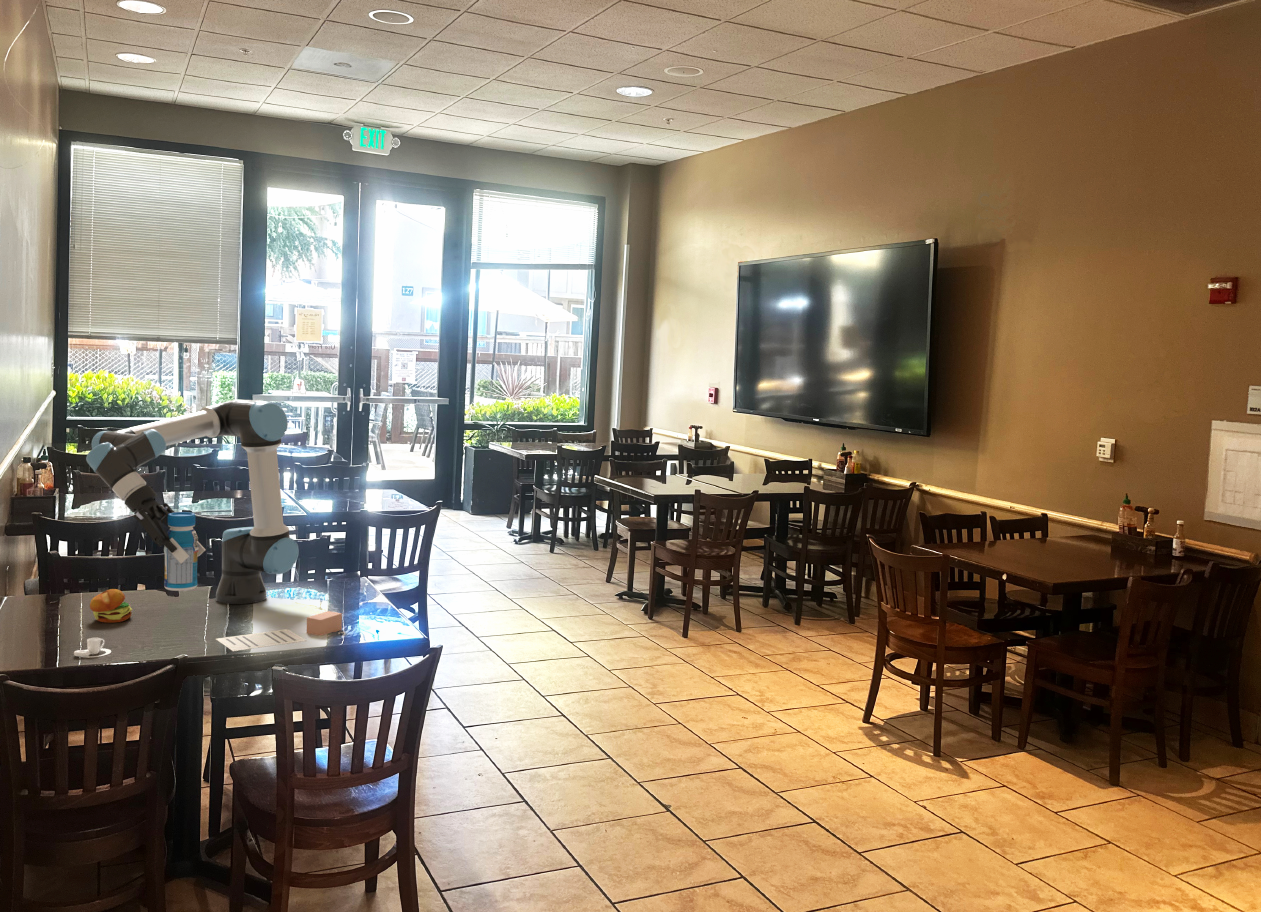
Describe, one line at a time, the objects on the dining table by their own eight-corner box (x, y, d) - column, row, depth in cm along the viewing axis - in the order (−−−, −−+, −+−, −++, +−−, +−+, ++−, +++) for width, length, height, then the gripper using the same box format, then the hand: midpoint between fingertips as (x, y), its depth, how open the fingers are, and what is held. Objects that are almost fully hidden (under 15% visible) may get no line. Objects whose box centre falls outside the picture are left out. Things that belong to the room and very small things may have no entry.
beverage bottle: (175, 593, 266) (176, 517, 264) (156, 587, 270) (157, 513, 268) (204, 587, 273) (205, 514, 271) (185, 582, 277) (186, 510, 275)
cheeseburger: (142, 617, 298) (135, 586, 295) (111, 633, 289) (104, 602, 286) (118, 612, 302) (111, 581, 299) (86, 628, 293) (79, 596, 290)
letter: (215, 639, 279) (215, 638, 279) (286, 630, 292) (286, 628, 292) (233, 652, 268) (233, 651, 268) (306, 641, 281) (306, 640, 281)
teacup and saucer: (75, 661, 256) (75, 645, 256) (70, 653, 263) (70, 637, 262) (113, 656, 261) (113, 641, 261) (108, 648, 268) (108, 633, 268)
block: (306, 617, 288) (328, 611, 296) (306, 634, 289) (327, 627, 297) (320, 619, 286) (341, 613, 294) (320, 637, 287) (341, 630, 295)
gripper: (146, 497, 281) (202, 557, 281) (102, 508, 259) (163, 574, 260) (165, 479, 280) (221, 540, 280) (123, 489, 259) (183, 555, 259)
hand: (193, 556), depth 270 cm, fingers closed on beverage bottle, 8 cm apart
